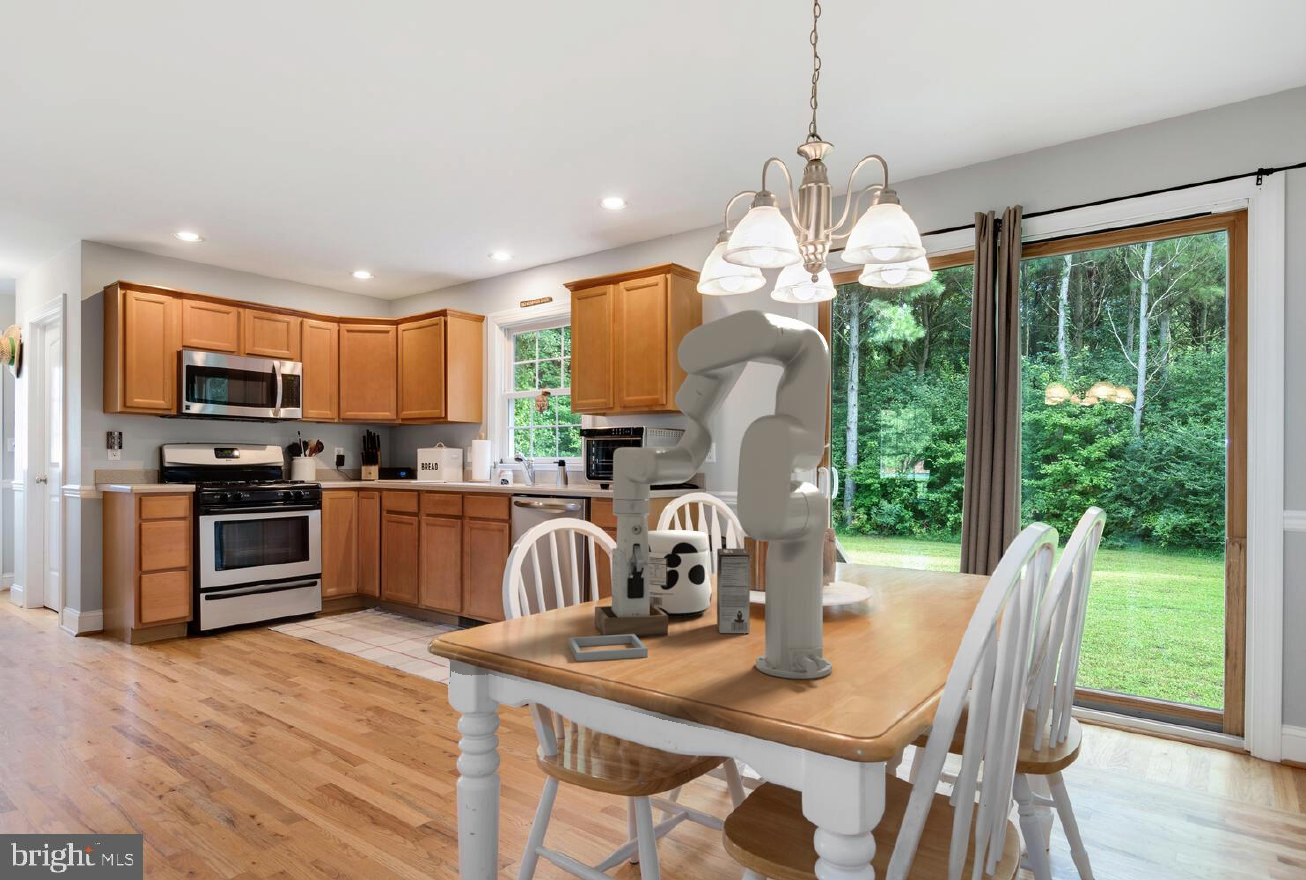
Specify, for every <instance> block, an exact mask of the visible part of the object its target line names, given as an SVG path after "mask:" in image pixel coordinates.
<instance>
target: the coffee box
mask: <svg viewBox="0 0 1306 880" xmlns="http://www.w3.org/2000/svg"><path fill="white" fill-rule="evenodd" d="M716 551H717V552H716V557H717V558H716V586H717V587H716V622H717V623H716V624H717V628H718V633H719V634H720V633H744V634H743V635H746V634H745V633H751V632H750V624H751V623H750V620H751V618H750V617H751V616H750V615H751V614H750V608H751V607H750V606H751V603H750V601H751V599H750V597H751V594H750V593H751V555H750V553H749V551H748V549H747V548H717V549H716Z"/></svg>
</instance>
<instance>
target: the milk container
mask: <svg viewBox="0 0 1306 880" xmlns="http://www.w3.org/2000/svg"><path fill="white" fill-rule="evenodd" d="M648 541H649V553H650V604H654V605H655V606H657V607H658V608H659V609H660V610H662V611H663V612H664V613H665V614H667V615H668V618H685V617H691V616H692V617H693V616H696V615H700V614H703V613H705V612H706V611H707V610H709V608H710V606H711V603H712V593H713V592H712V591H713V590H712V584H711V581H710V576H709V573H708V572H709V571H708V561H709V552H708V550H709V542H708V541H709V540H708V534H707V533H706V532H703V531H697V530H689V529H688V530H686V529H684V530H683V529H658V530H648Z"/></svg>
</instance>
